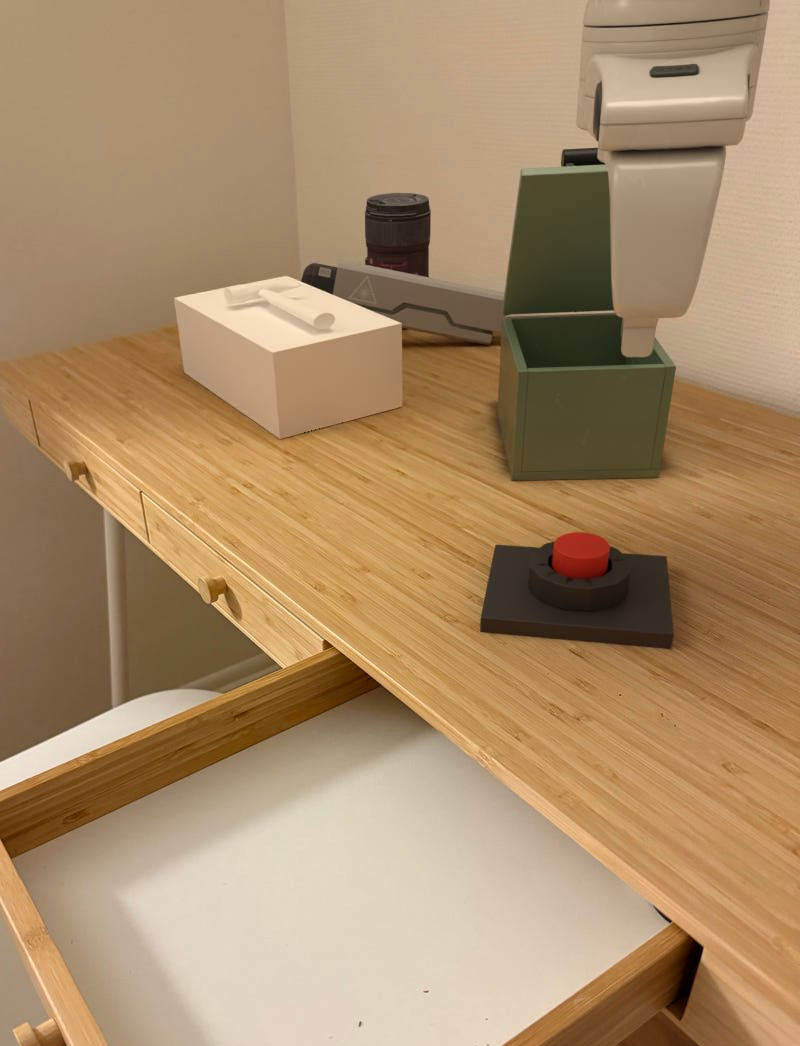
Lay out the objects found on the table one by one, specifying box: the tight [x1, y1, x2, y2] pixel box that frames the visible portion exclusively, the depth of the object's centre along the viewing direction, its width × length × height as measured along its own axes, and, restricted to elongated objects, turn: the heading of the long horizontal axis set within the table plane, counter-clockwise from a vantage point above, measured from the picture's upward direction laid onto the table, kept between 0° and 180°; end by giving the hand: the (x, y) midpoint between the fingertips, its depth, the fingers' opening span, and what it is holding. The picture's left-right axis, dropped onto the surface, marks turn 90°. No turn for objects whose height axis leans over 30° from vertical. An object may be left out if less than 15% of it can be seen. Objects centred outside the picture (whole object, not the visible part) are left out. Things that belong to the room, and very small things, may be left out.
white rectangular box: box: [173, 275, 403, 440], centre depth 103 cm, size 14×25×11 cm, turn 29°
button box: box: [479, 541, 675, 650], centre depth 65 cm, size 12×10×4 cm
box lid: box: [502, 147, 614, 316], centre depth 83 cm, size 16×13×5 cm
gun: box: [300, 259, 512, 346], centre depth 115 cm, size 2×25×10 cm, turn 85°
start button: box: [552, 531, 611, 579], centre depth 64 cm, size 4×4×2 cm
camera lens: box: [364, 192, 432, 330], centre depth 120 cm, size 8×8×15 cm
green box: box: [496, 312, 677, 482], centre depth 87 cm, size 16×13×10 cm
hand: (635, 349), depth 57 cm, fingers closed
